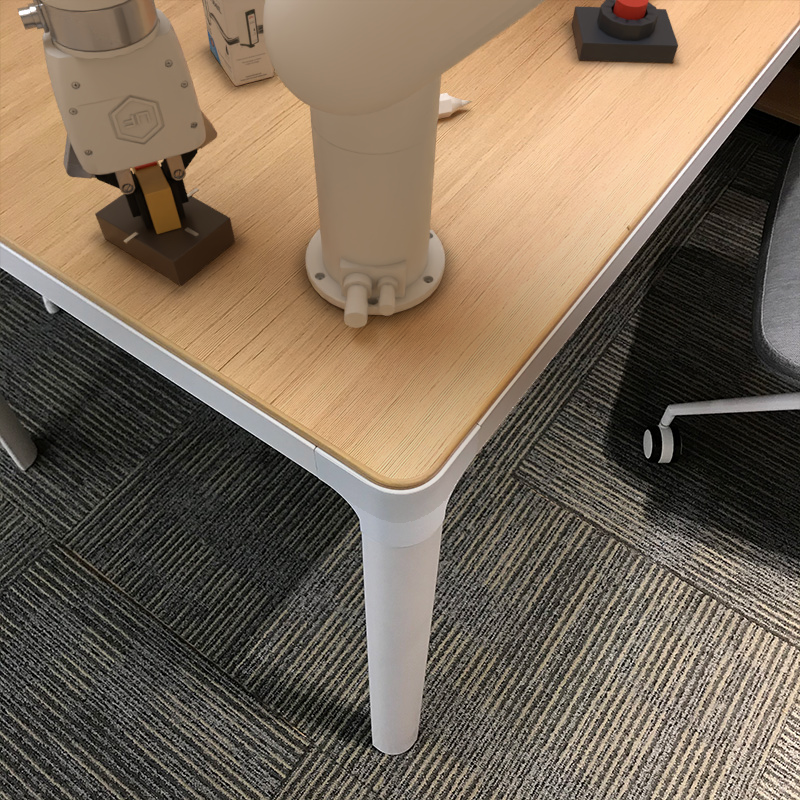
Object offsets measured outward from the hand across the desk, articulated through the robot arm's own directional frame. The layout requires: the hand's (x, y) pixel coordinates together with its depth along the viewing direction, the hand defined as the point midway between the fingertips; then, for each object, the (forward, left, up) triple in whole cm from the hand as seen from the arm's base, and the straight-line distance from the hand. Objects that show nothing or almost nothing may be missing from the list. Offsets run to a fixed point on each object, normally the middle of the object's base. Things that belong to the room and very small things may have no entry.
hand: (161, 212), depth 68 cm
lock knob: (0, 0, 0) cm, 0 cm away
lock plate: (0, 0, -3) cm, 3 cm away
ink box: (+29, -3, -4) cm, 30 cm away
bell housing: (+36, -47, -3) cm, 59 cm away
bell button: (+36, -47, 0) cm, 59 cm away
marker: (+19, -21, -4) cm, 29 cm away
